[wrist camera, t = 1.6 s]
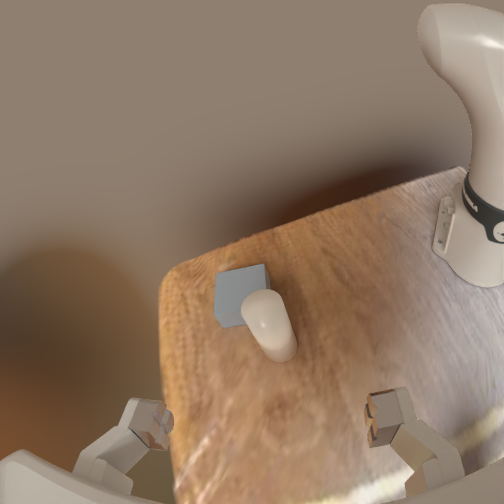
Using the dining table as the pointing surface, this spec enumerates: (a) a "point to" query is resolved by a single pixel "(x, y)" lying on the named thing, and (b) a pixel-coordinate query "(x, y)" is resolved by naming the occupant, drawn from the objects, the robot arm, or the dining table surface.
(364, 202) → the dining table surface
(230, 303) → the plinth
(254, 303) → the white pillar candle
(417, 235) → the dining table surface
